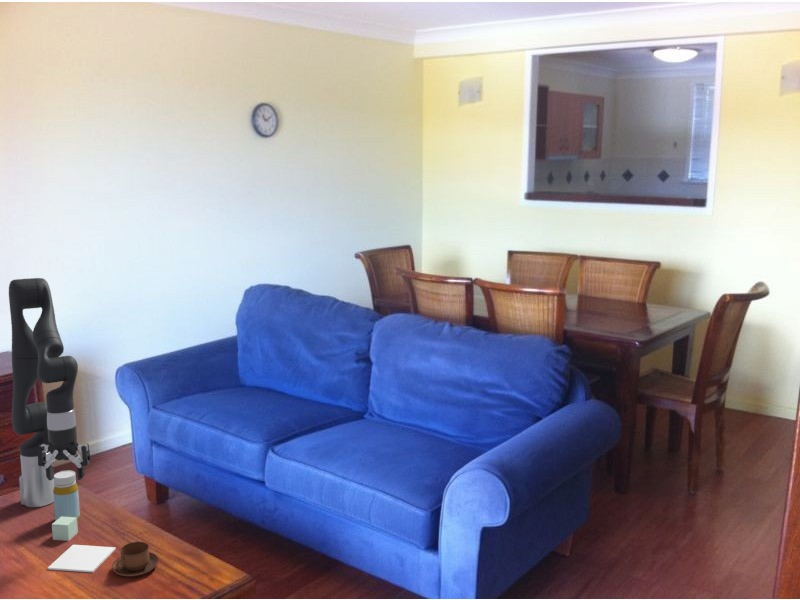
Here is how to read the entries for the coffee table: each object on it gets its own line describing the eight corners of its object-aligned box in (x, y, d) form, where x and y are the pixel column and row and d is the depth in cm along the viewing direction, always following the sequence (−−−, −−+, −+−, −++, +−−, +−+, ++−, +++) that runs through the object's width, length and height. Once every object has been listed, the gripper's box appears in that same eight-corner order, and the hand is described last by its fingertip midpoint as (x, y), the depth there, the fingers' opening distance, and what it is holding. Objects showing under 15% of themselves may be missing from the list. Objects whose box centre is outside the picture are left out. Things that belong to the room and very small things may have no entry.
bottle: (73, 525, 232) (70, 479, 229) (51, 524, 232) (47, 478, 230) (83, 515, 239) (80, 470, 236) (61, 514, 239) (58, 469, 236)
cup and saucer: (144, 583, 201) (143, 561, 199) (103, 577, 203) (102, 556, 202) (166, 560, 212) (165, 540, 211) (127, 555, 214) (126, 535, 213)
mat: (47, 569, 207) (47, 567, 206) (73, 546, 219) (73, 544, 219) (92, 572, 205) (92, 570, 205) (115, 549, 218) (115, 547, 218)
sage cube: (52, 539, 223) (51, 524, 222) (62, 532, 228) (61, 516, 227) (68, 540, 223) (67, 525, 222) (77, 533, 227) (76, 517, 227)
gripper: (91, 421, 221) (95, 474, 223) (43, 421, 221) (47, 474, 223) (81, 429, 213) (85, 484, 216) (30, 429, 213) (35, 484, 216)
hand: (65, 479), depth 219 cm, fingers open, 8 cm apart
